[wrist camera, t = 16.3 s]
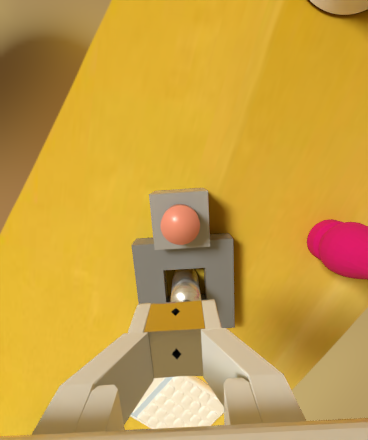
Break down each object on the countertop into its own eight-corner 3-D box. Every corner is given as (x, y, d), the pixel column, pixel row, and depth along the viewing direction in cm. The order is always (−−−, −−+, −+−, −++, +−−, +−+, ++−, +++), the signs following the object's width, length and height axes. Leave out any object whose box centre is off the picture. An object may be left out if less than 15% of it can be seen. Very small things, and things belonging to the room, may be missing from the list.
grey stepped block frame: (130, 192, 30) (119, 196, 25) (227, 186, 30) (237, 188, 25) (145, 319, 35) (139, 346, 30) (230, 314, 35) (238, 340, 29)
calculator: (186, 439, 41) (186, 451, 39) (100, 389, 39) (96, 400, 37) (230, 396, 39) (233, 407, 37) (142, 339, 36) (140, 348, 35)
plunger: (160, 205, 25) (158, 207, 23) (197, 202, 25) (199, 205, 23) (163, 240, 26) (162, 246, 24) (199, 238, 26) (200, 243, 24)
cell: (171, 267, 33) (168, 296, 25) (197, 265, 33) (201, 294, 25) (173, 290, 34) (171, 325, 26) (198, 288, 34) (203, 323, 26)
